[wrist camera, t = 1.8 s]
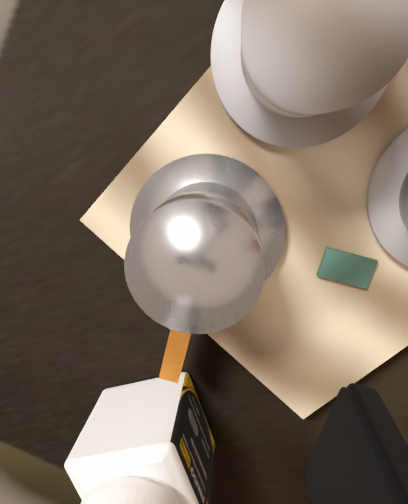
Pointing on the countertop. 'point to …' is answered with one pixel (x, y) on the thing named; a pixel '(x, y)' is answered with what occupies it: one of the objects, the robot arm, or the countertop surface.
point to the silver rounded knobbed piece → (201, 247)
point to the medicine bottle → (145, 446)
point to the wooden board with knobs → (303, 182)
